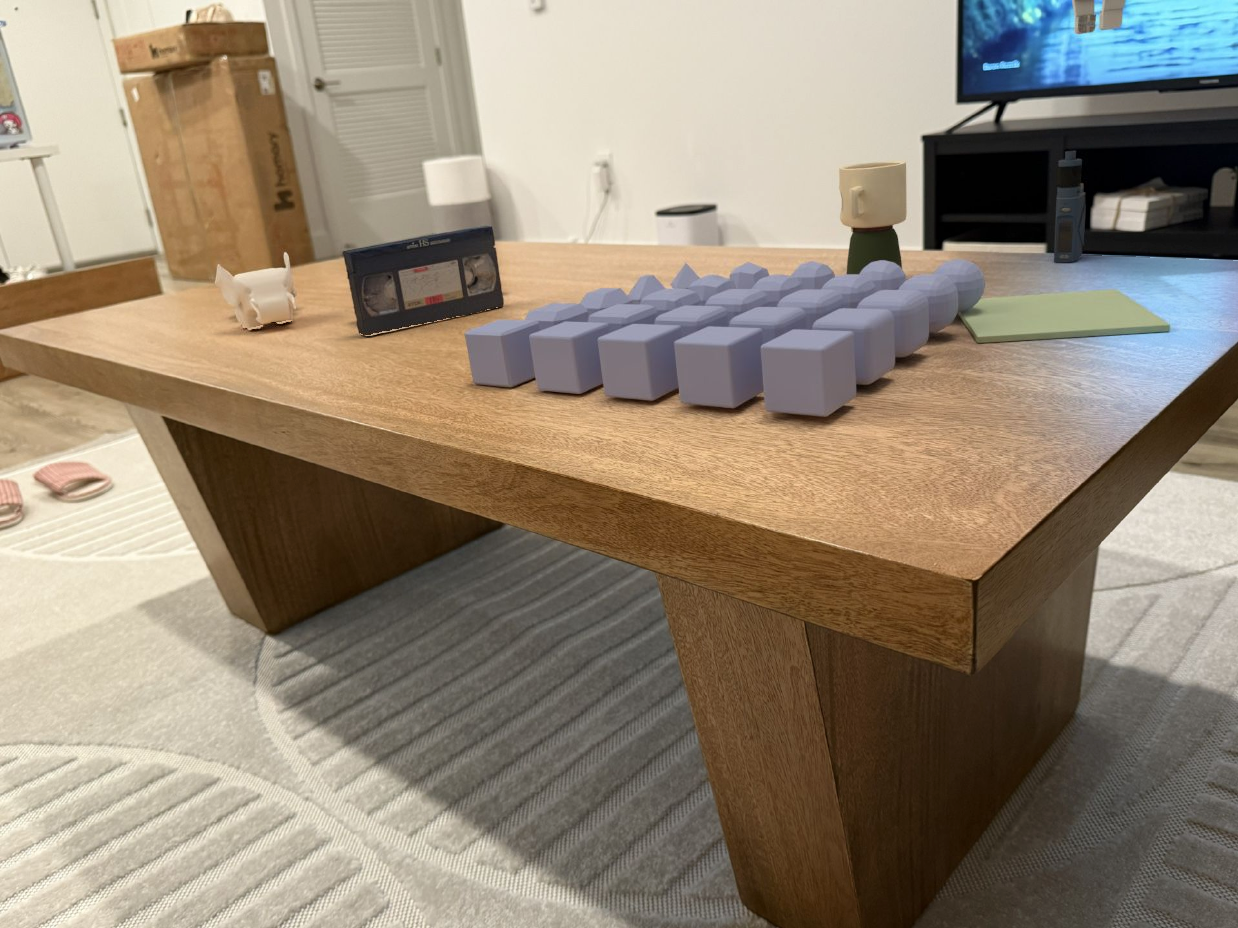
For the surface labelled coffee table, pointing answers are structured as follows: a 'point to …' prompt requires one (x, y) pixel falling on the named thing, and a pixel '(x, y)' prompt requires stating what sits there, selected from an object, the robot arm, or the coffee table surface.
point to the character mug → (873, 211)
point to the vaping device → (1069, 210)
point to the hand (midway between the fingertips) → (1096, 31)
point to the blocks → (730, 335)
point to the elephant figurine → (259, 294)
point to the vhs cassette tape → (424, 279)
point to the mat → (1059, 316)
